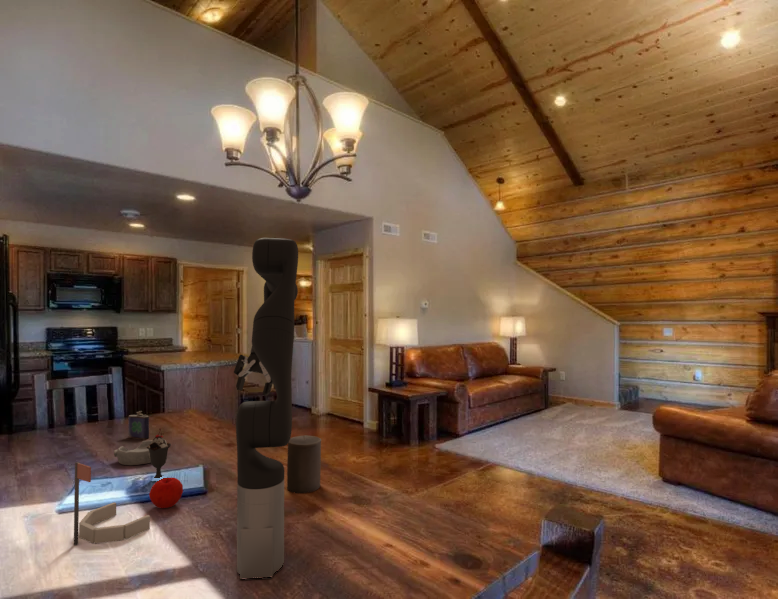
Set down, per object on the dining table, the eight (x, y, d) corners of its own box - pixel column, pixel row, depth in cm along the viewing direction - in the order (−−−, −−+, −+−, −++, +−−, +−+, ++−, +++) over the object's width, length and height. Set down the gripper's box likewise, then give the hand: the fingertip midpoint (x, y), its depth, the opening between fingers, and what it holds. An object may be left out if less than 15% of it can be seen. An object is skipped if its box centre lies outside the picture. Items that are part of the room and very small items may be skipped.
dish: (107, 465, 149) (108, 450, 149) (140, 452, 162) (140, 438, 162) (144, 469, 145) (144, 453, 146) (174, 455, 159) (174, 441, 159)
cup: (114, 514, 113) (114, 442, 113) (149, 528, 106) (150, 452, 106) (56, 536, 102) (58, 457, 102) (92, 554, 94) (93, 469, 95)
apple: (152, 516, 112) (152, 487, 112) (145, 505, 118) (146, 477, 118) (186, 507, 117) (186, 479, 117) (178, 497, 123) (178, 470, 123)
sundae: (164, 473, 141) (164, 425, 141) (174, 478, 137) (174, 429, 137) (142, 479, 136) (142, 430, 136) (151, 485, 132) (152, 434, 132)
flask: (126, 438, 179) (127, 411, 179) (132, 436, 182) (132, 409, 182) (145, 439, 177) (146, 412, 177) (151, 437, 180) (151, 411, 180)
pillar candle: (287, 495, 125) (288, 441, 125) (286, 481, 134) (287, 431, 134) (322, 491, 127) (323, 439, 127) (318, 479, 137) (319, 429, 137)
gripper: (240, 334, 136) (224, 387, 131) (282, 341, 132) (268, 396, 128) (251, 339, 143) (237, 390, 138) (292, 346, 139) (278, 398, 135)
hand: (252, 392), depth 133 cm, fingers open, 8 cm apart
